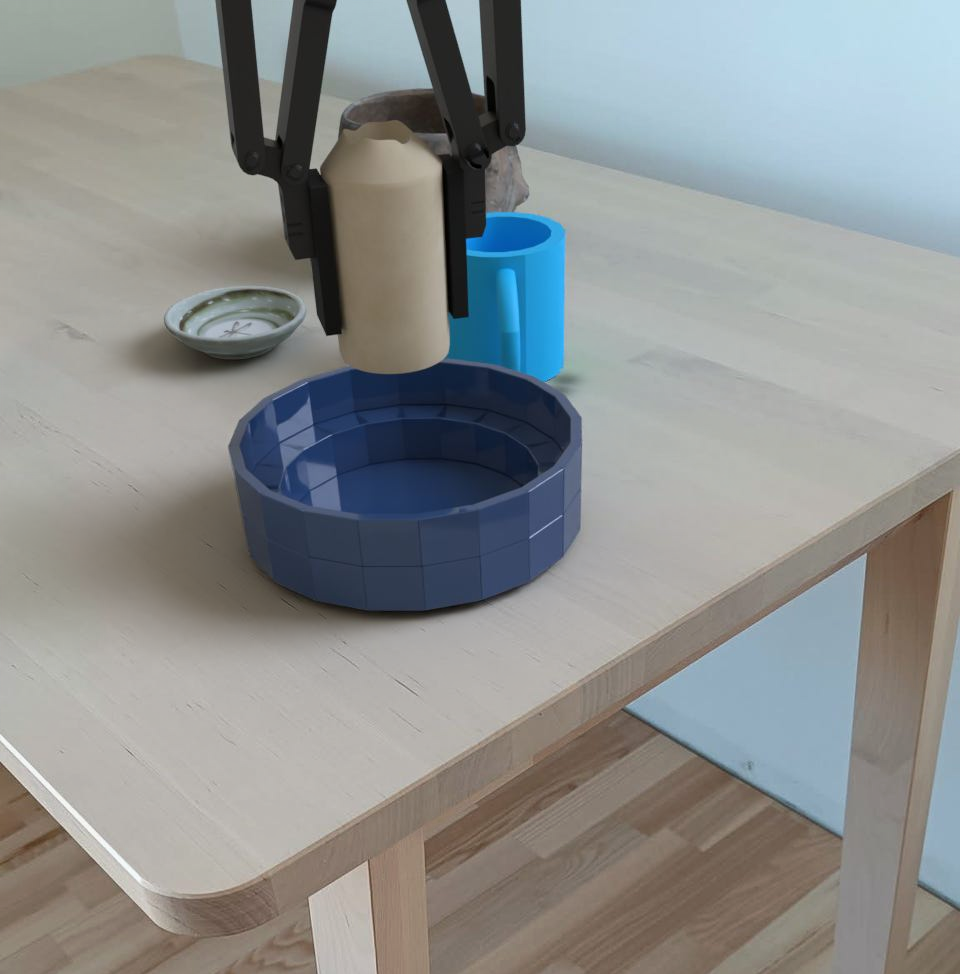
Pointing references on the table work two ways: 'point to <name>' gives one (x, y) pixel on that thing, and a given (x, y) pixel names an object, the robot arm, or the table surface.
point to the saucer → (235, 320)
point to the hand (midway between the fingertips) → (392, 314)
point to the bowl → (441, 139)
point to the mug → (514, 296)
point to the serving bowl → (409, 484)
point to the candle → (388, 248)
